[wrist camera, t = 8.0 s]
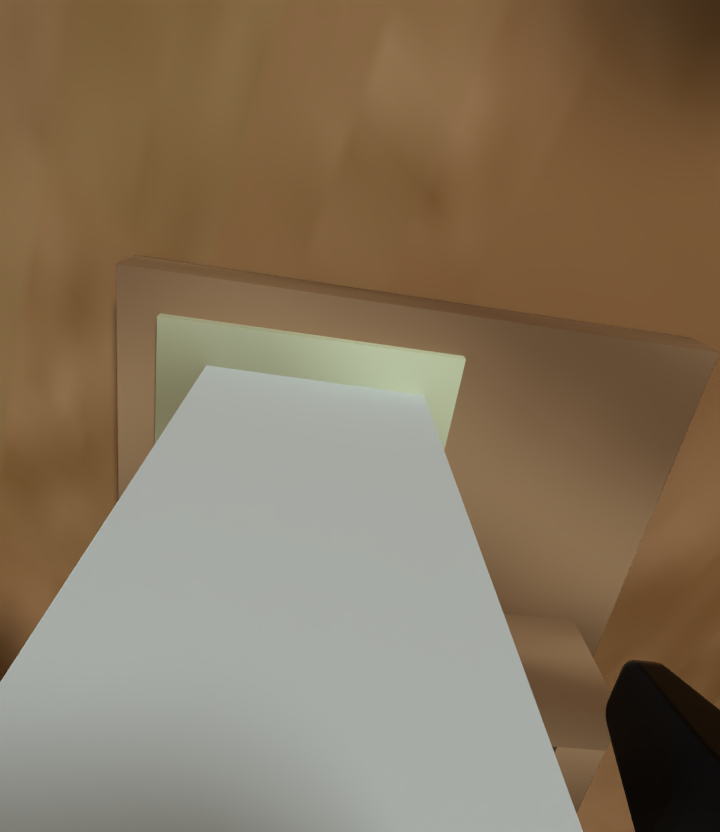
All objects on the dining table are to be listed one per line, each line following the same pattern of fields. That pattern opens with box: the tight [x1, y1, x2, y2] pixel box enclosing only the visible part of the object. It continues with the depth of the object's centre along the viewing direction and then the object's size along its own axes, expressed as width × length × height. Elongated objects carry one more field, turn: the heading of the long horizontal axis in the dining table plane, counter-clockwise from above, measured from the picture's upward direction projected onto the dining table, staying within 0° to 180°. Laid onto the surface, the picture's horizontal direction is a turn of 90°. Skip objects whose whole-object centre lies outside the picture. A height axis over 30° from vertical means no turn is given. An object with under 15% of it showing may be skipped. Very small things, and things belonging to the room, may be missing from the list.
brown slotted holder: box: [116, 255, 719, 813], centre depth 12 cm, size 14×11×4 cm
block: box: [0, 365, 583, 832], centre depth 7 cm, size 4×4×9 cm
